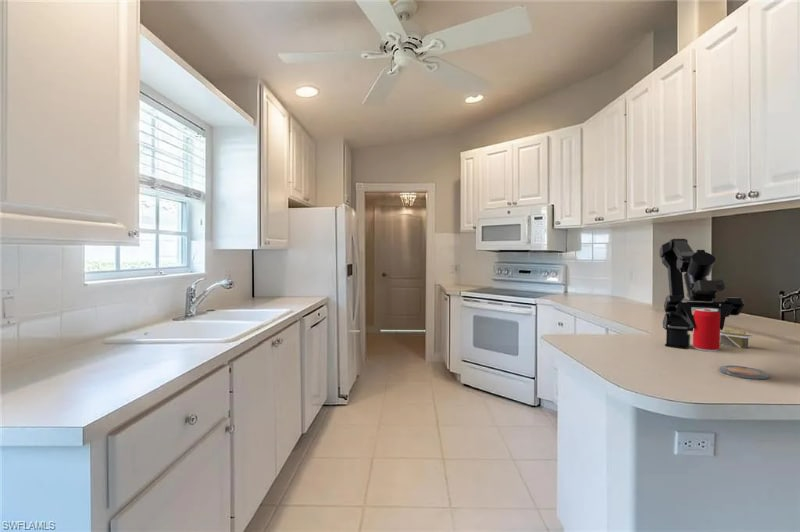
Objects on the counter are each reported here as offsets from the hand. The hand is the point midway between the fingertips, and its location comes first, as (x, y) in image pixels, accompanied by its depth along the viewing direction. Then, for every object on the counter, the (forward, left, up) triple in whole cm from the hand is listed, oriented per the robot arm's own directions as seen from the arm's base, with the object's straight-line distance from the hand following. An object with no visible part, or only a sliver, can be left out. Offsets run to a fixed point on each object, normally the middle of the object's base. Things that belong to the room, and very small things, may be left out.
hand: (708, 328), depth 113 cm
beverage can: (-1, +1, -7) cm, 7 cm away
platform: (+2, +44, -14) cm, 46 cm away
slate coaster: (+7, +7, -13) cm, 17 cm away
